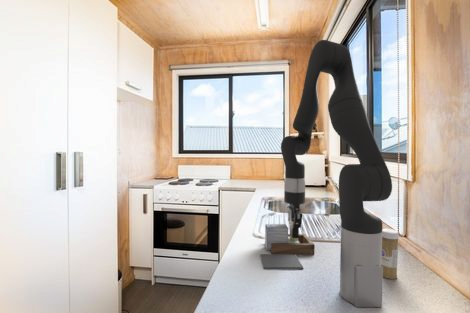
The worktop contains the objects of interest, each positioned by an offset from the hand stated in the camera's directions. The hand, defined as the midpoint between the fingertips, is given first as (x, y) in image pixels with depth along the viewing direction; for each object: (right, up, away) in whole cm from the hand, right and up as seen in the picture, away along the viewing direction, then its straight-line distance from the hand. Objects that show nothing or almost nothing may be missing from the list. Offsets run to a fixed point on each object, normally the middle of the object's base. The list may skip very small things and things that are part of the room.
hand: (294, 235), depth 97 cm
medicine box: (-7, -5, 0) cm, 8 cm away
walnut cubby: (-2, -5, 0) cm, 5 cm away
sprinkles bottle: (+23, -6, -21) cm, 31 cm away
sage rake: (-1, -4, 0) cm, 4 cm away
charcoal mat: (-7, -5, -12) cm, 15 cm away
